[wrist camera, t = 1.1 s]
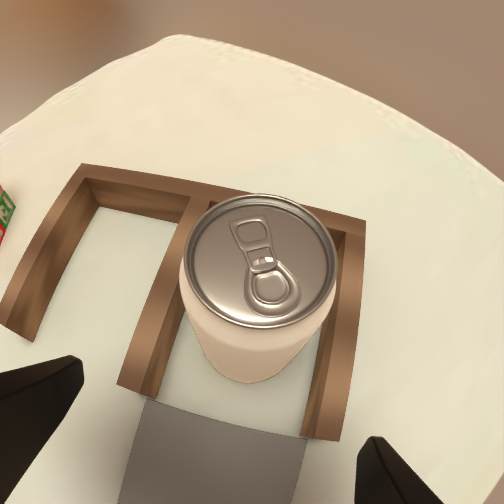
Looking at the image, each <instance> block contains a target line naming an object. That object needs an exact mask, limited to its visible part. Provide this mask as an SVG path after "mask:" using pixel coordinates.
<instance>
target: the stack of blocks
mask: <svg viewBox="0 0 504 504" xmlns="http://www.w3.org/2000/svg"><path fill="white" fill-rule="evenodd" d="M14 209H15V205H14V204H13V202H12V201H11V199H10V198H9V196H8V195H7V193H6V192H5V191H4V190H3V189H2V187H1V185H0V244H1V242H2V239H3V237H4V234H5V231H6V228H7V226H8V223H9V221H10V219H11V216H12V214H13V212H14Z"/></svg>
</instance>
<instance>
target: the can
mask: <svg viewBox="0 0 504 504" xmlns="http://www.w3.org/2000/svg"><path fill="white" fill-rule="evenodd" d="M337 269H338V259H337V252H336V248H335V245H334V242H333V239H332V237H331V235H330V233H329V232H328V230H327V228H326V227H325V226H324V224H323V223H322V222H321V221H320V220H319V219H318V218H317V217H316V216H315V215H314V214H313V213H312V212H311V211H309V210H308V209H306V208H305V207H303V206H302V205H300V204H298V203H296V202H294V201H292V200H289V199H287V198H283V197H280V196H276V195H270V194H245V195H239V196H235V197H232V198H229V199H226V200H224V201H222V202H220V203H218V204H216V205H214V206H213V207H211V208H210V209H209V210H207V211H206V212H205V213H204V214H203V215H202V216H201V217H200V218H199V219H198V220H197V221H196V223H195V224H194V226H193V227H192V229H191V231H190V233H189V235H188V237H187V240H186V243H185V248H184V255H183V258H182V261H181V265H180V273H179V282H180V291H181V296H182V299H183V302H184V306H185V308H186V311H187V314H188V316H189V319H190V321H191V324H192V326H193V328H194V331H195V333H196V335H197V338H198V340H199V342H200V344H201V347H202V349H203V351H204V353H205V355H206V357H207V359H208V360H209V362H210V363H211V365H212V366H213V367H214V368H215V369H216V370H217V371H218V372H219V373H221V374H222V375H224V376H225V377H227V378H229V379H232V380H235V381H238V382H244V383H255V382H260V381H263V380H266V379H268V378H270V377H272V376H274V375H275V374H277V373H278V372H280V371H281V370H282V369H283V368H284V367H285V366H286V365H287V364H288V363H289V362H290V361H291V360H292V359H293V357H294V356H295V355H296V354H297V353H298V352H299V351H300V350H301V348H302V347H303V346H304V345H305V344H306V343H307V341H308V340H309V339H310V338H311V337H312V335H313V334H314V333H315V332H316V331H317V329H318V328H319V327H320V325H321V324H322V322H323V321H324V320H325V318H326V316H327V314H328V313H329V310H330V308H331V306H332V303H333V300H334V296H335V291H336V276H337Z"/></svg>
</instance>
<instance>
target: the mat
mask: <svg viewBox="0 0 504 504" xmlns="http://www.w3.org/2000/svg"><path fill="white" fill-rule="evenodd" d="M306 444H307V439H301V438H295V437H289V436H283V435H278V434H273V433H268V432H263V431H258V430H253V429H249V428H245V427H240V426H236V425H232V424H228V423H224V422H221V421H217V420H213V419H209V418H206V417H202V416H199V415H196V414H192V413H189V412H186V411H183V410H180V409H176V408H173V407H170V406H167V405H165V404H162V403H159V402H156V401H153V400H150V399H147V400H146V403H145V406H144V409H143V413H142V416H141V419H140V423H139V426H138V429H137V433H136V436H135V440H134V443H133V447H132V450H131V454H130V458H129V461H128V465H127V468H126V472H125V476H124V480H123V484H122V487H121V491H120V495H119V499H118V503H117V504H290V503H291V500H292V496H293V493H294V490H295V486H296V482H297V479H298V475H299V471H300V468H301V464H302V460H303V456H304V452H305V448H306Z"/></svg>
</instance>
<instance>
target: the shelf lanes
mask: <svg viewBox="0 0 504 504" xmlns="http://www.w3.org/2000/svg"><path fill="white" fill-rule="evenodd" d="M245 194H254V193H249V192H245V191H240V190H235V189H230V188H225V187H220V186H215V185H210V184H205V183H200V182H195V181H189V180H184V179H179V178H173V177H167V176H162V175H156V174H150V173H144V172H138V171H132V170H125V169H119V168H112V167H105V166H98V165H91V164H84V163H81V165H80V166H79V167H78V169H77V170H76V171H75V173H74V174H73V176H72V177H71V178H70V180H69V181H68V183H67V184H66V186H65V187H64V189H63V190H62V192H61V193H60V195H59V196H58V198H57V199H56V201H55V202H54V204H53V205H52V207H51V208H50V210H49V212H48V213H47V215H46V216H45V218H44V220H43V221H42V223H41V225H40V226H39V228H38V230H37V232H36V233H35V235H34V237H33V238H32V240H31V242H30V244H29V246H28V247H27V249H26V251H25V253H24V255H23V257H22V259H21V261H20V263H19V265H18V266H17V268H16V270H15V272H14V274H13V277H12V279H11V281H10V283H9V285H8V287H7V289H6V291H5V294H4V296H3V298H2V300H1V303H0V324H2V325H3V326H5V327H6V328H8V329H10V330H11V331H13V332H15V333H17V334H18V335H20V336H22V337H24V338H25V339H27V340H29V341H31V342H33V341H34V338H35V335H36V333H37V330H38V328H39V325H40V323H41V320H42V318H43V315H44V313H45V311H46V308H47V306H48V304H49V301H50V299H51V297H52V295H53V293H54V290H55V288H56V286H57V284H58V282H59V280H60V278H61V275H62V273H63V271H64V269H65V267H66V265H67V263H68V261H69V259H70V257H71V255H72V254H73V252H74V250H75V248H76V246H77V244H78V242H79V240H80V238H81V237H82V235H83V233H84V231H85V229H86V228H87V226H88V224H89V222H90V221H91V219H92V217H93V215H94V214H95V212H96V210H97V209H98V207H99V206H102V207H107V208H111V209H116V210H120V211H125V212H129V213H134V214H138V215H143V216H147V217H152V218H156V219H161V220H165V221H170V222H174V223H178V226H177V229H176V231H175V233H174V235H173V238H172V240H171V242H170V244H169V247H168V249H167V251H166V254H165V256H164V258H163V261H162V263H161V266H160V268H159V270H158V273H157V275H156V278H155V280H154V283H153V285H152V288H151V290H150V293H149V295H148V298H147V300H146V303H145V305H144V308H143V310H142V313H141V316H140V318H139V321H138V324H137V326H136V329H135V332H134V334H133V337H132V340H131V343H130V345H129V348H128V351H127V354H126V357H125V360H124V363H123V365H122V368H121V371H120V374H119V377H118V380H117V383H116V384H117V385H119V386H122V387H124V388H127V389H129V390H132V391H134V392H137V393H140V394H143V395H146V396H149V397H152V398H156V396H157V393H158V390H159V387H160V384H161V380H162V377H163V374H164V371H165V368H166V365H167V362H168V359H169V356H170V352H171V349H172V346H173V343H174V340H175V337H176V334H177V331H178V328H179V325H180V322H181V320H182V317H183V314H184V311H185V306H184V302H183V299H182V296H181V291H180V282H179V273H180V265H181V261H182V258H183V255H184V248H185V243H186V240H187V237H188V235H189V233H190V231H191V229H192V227H193V226H194V224H195V223H196V221H197V220H198V219H199V218H200V217H201V216H202V215H203V214H204V213H205V212H206V211H207V210H209V209H210V208H211V207H213V206H214V205H216V204H218V203H220V202H222V201H224V200H226V199H229V198H232V197H235V196H239V195H245ZM300 205H302V204H300ZM302 206H303V207H305V208H306V209H308V210H309V211H311V212H312V213H313V214H314V215H315V216H316V217H317V218H318V219H319V220H320V221H321V222H322V223H323V224H324V226H325V227H326V228H327V230H328V232H329V233H330V235H331V237H332V239H333V242H334V245H335V248H336V252H337V259H338V269H337V276H336V291H335V296H334V300H333V303H332V306H331V308H330V310H329V313H328V314H327V316H326V318H325V320H324V321H323V323H322V329H321V335H320V340H319V346H318V352H317V357H316V362H315V368H314V373H313V378H312V383H311V388H310V392H309V397H308V402H307V406H306V411H305V415H304V420H303V424H302V428H301V433H300V436H304V437H309V438H314V439H321V440H328V441H337V442H339V440H340V436H341V431H342V426H343V421H344V416H345V411H346V406H347V401H348V395H349V389H350V383H351V377H352V371H353V364H354V357H355V350H356V343H357V335H358V326H359V317H360V308H361V297H362V285H363V272H364V256H365V234H366V221H365V220H362V219H358V218H354V217H350V216H346V215H343V214H339V213H335V212H331V211H327V210H323V209H319V208H315V207H311V206H306V205H302Z"/></svg>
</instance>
